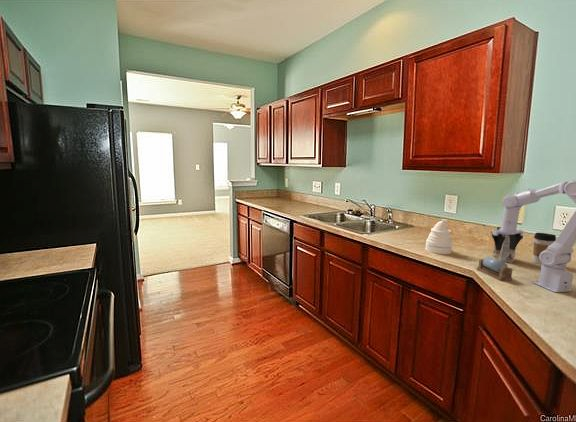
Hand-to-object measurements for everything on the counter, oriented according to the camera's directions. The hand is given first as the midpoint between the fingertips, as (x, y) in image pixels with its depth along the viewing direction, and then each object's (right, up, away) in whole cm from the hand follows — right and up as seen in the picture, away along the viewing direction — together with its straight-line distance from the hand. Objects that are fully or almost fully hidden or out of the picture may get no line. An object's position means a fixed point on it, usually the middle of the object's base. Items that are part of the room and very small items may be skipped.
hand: (505, 249), depth 140 cm
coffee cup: (+26, -8, +12) cm, 30 cm away
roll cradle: (-9, -10, -5) cm, 15 cm away
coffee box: (+10, -7, +16) cm, 21 cm away
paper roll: (-9, -9, -6) cm, 14 cm away
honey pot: (-17, -4, +28) cm, 33 cm away
